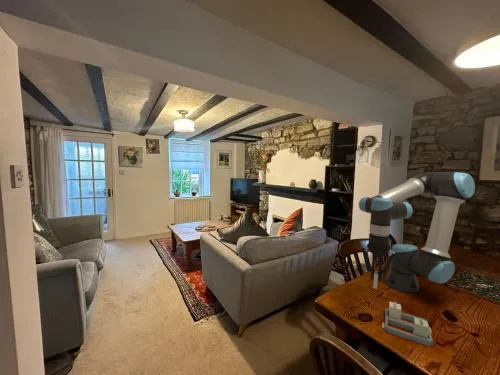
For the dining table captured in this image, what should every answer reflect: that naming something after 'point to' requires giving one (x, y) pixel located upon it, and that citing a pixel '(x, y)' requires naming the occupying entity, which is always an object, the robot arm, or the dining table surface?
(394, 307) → the ivory tab
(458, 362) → the dining table surface
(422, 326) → the sage tab
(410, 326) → the switch bank
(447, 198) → the robot arm
